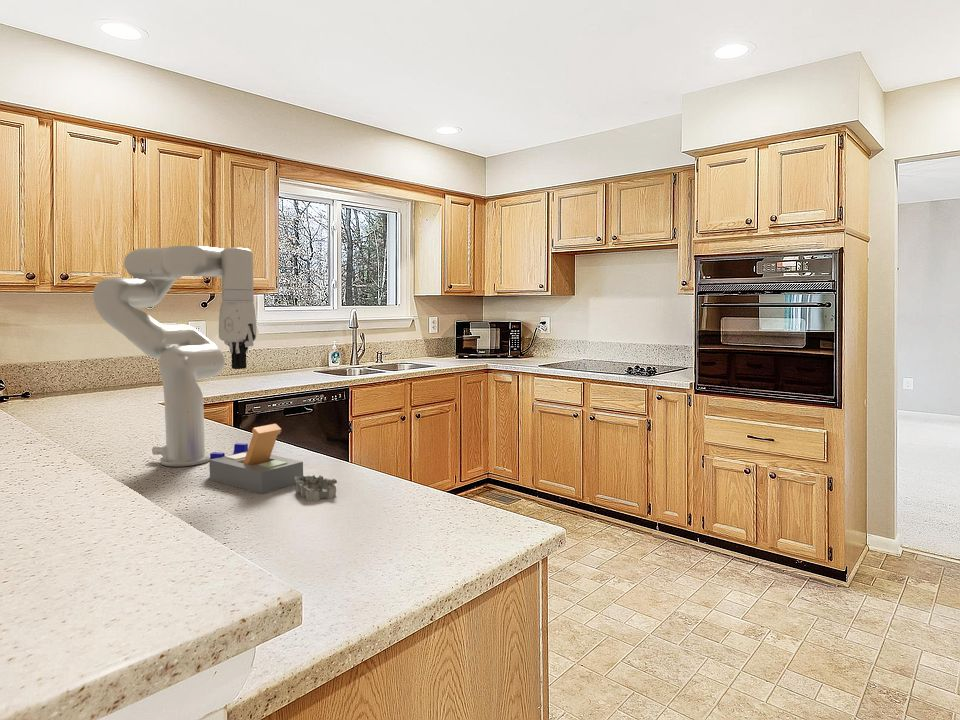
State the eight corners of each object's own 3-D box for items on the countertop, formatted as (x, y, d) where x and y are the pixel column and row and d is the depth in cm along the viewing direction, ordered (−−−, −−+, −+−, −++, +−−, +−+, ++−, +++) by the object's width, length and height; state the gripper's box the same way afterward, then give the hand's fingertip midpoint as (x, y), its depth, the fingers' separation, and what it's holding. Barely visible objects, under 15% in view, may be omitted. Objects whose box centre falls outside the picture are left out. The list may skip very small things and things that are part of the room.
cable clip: (233, 464, 170) (232, 442, 169) (248, 465, 169) (247, 443, 169) (205, 476, 158) (204, 453, 158) (221, 477, 157) (220, 454, 157)
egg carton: (339, 498, 142) (338, 480, 141) (305, 503, 138) (305, 485, 137) (324, 486, 151) (324, 469, 150) (293, 490, 147) (292, 473, 147)
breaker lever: (239, 469, 152) (253, 427, 148) (262, 463, 158) (275, 423, 153) (245, 475, 151) (259, 433, 147) (267, 469, 156) (281, 429, 152)
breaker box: (209, 479, 155) (209, 458, 154) (251, 469, 165) (251, 449, 164) (261, 493, 144) (261, 471, 143) (303, 481, 153) (302, 460, 153)
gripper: (207, 296, 162) (208, 367, 163) (242, 297, 153) (243, 372, 155) (233, 296, 168) (234, 365, 170) (268, 297, 159) (269, 369, 161)
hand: (239, 368), depth 162 cm, fingers closed
